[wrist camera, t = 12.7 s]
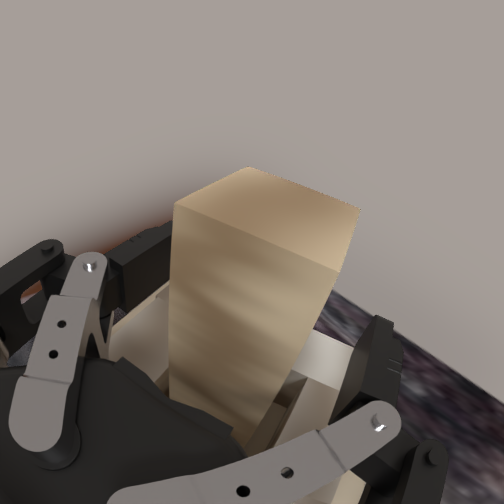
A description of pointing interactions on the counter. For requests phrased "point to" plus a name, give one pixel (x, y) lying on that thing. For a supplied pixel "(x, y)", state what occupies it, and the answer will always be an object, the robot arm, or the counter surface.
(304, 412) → the wooden socket base
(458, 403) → the counter surface
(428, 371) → the counter surface
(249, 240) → the tan long rectangular block
